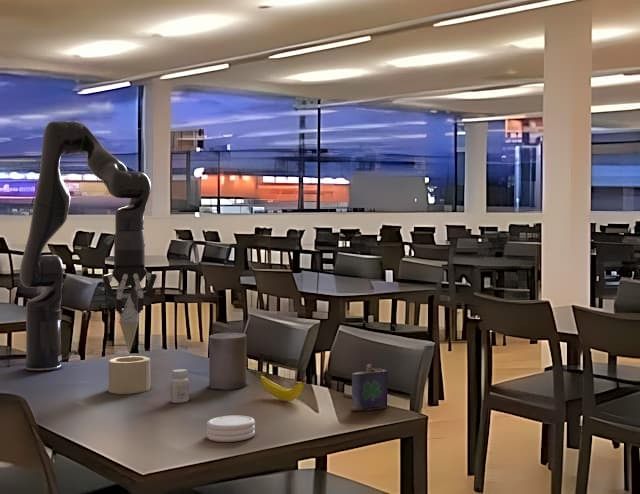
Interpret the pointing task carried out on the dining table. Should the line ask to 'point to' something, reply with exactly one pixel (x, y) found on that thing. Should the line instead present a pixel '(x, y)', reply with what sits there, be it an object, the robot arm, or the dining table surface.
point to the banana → (282, 389)
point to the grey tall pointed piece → (129, 322)
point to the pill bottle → (179, 386)
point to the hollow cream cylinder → (129, 374)
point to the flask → (369, 389)
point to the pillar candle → (227, 361)
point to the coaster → (230, 428)
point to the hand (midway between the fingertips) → (129, 312)
